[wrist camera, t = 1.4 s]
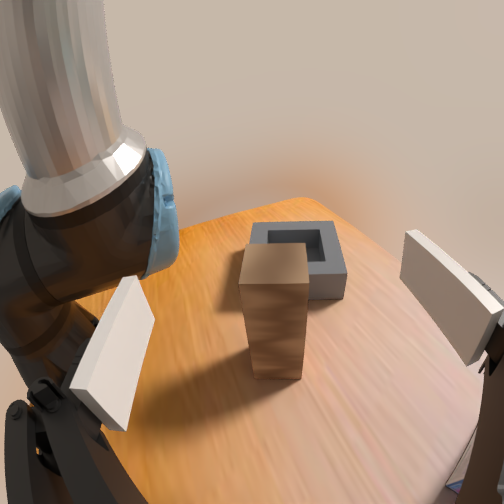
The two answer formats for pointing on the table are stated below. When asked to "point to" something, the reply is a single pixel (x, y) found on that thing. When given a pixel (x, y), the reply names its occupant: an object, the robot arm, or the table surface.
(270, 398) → the table surface
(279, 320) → the walnut block
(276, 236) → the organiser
